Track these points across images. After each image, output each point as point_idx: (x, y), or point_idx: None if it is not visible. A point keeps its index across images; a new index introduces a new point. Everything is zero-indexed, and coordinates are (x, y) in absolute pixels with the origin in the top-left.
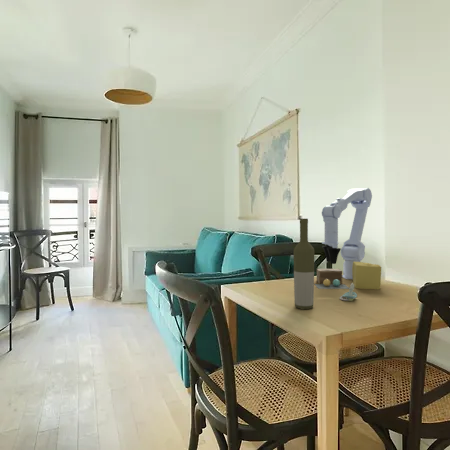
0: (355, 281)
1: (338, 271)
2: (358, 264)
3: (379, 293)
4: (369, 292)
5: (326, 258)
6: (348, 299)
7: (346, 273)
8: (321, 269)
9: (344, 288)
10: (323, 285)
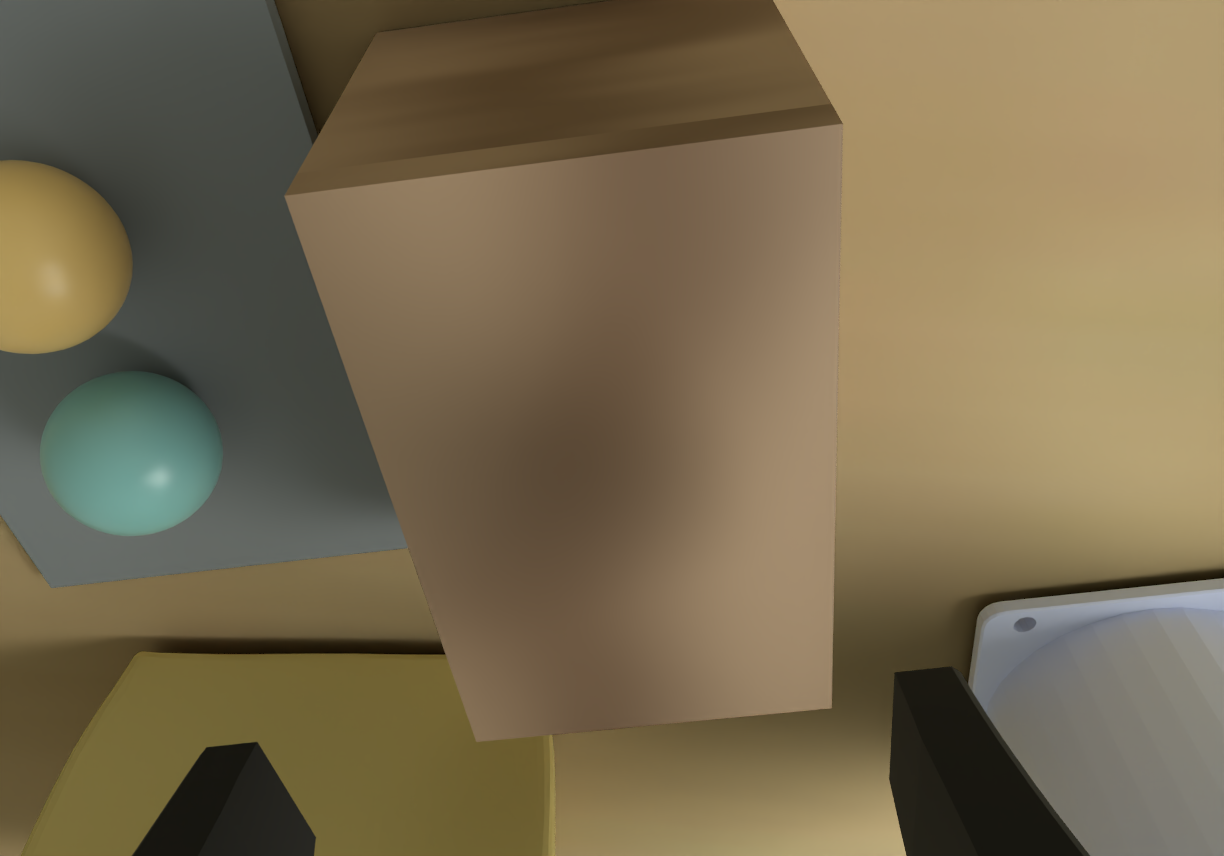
0: (76, 756)
1: (458, 672)
2: None
3: (8, 822)
4: (3, 751)
5: (940, 770)
6: None
7: (1122, 695)
8: (668, 294)
9: (17, 513)
10: (131, 141)
